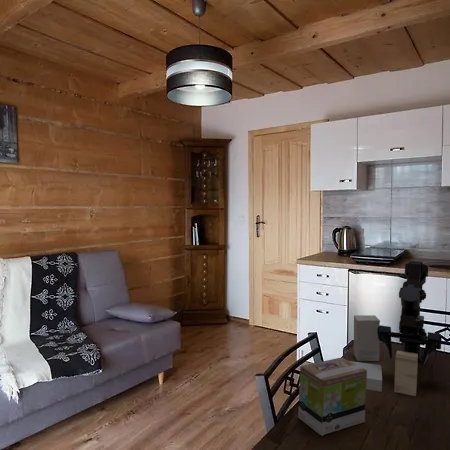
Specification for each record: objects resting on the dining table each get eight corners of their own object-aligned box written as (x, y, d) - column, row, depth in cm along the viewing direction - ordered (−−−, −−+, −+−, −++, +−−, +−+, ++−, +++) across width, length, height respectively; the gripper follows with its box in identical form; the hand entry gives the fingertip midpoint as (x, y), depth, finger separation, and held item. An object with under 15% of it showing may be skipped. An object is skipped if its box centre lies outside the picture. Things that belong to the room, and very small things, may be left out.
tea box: (322, 438, 99) (323, 380, 98) (297, 418, 108) (298, 365, 107) (366, 422, 106) (367, 368, 105) (339, 405, 115) (340, 355, 114)
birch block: (396, 383, 129) (397, 350, 128) (416, 388, 126) (418, 353, 125) (394, 391, 123) (395, 356, 123) (415, 396, 121) (417, 360, 120)
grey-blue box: (343, 371, 139) (344, 360, 138) (381, 376, 135) (381, 365, 134) (341, 386, 127) (341, 374, 127) (381, 393, 123) (382, 380, 123)
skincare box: (375, 355, 152) (376, 315, 151) (380, 362, 146) (381, 320, 145) (352, 354, 153) (353, 314, 152) (356, 361, 147) (357, 319, 146)
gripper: (378, 301, 133) (373, 344, 124) (442, 308, 124) (441, 355, 115) (381, 318, 140) (375, 360, 131) (441, 326, 132) (440, 371, 123)
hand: (406, 361), depth 125 cm, fingers open, 9 cm apart
